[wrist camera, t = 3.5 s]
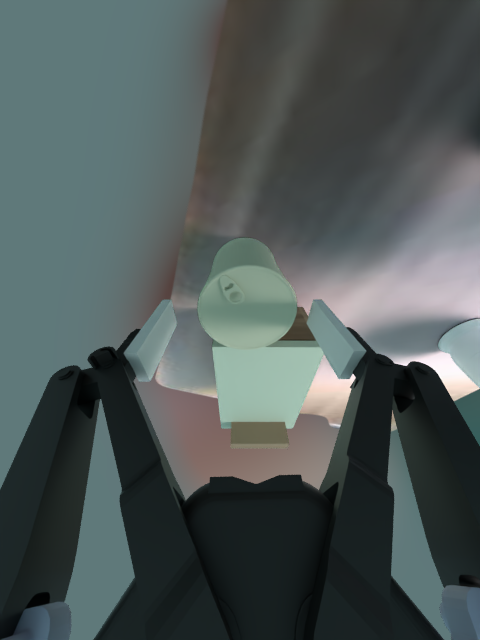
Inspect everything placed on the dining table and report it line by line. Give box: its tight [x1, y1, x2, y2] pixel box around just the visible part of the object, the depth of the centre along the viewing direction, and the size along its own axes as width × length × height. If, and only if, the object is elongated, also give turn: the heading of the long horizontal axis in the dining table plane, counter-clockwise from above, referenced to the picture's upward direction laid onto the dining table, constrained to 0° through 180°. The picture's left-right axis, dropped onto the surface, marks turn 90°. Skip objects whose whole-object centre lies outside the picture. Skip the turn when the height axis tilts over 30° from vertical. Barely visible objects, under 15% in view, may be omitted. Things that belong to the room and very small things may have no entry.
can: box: [197, 238, 297, 350], centre depth 20 cm, size 9×9×12 cm
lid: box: [212, 340, 324, 448], centre depth 26 cm, size 22×14×5 cm, turn 179°
